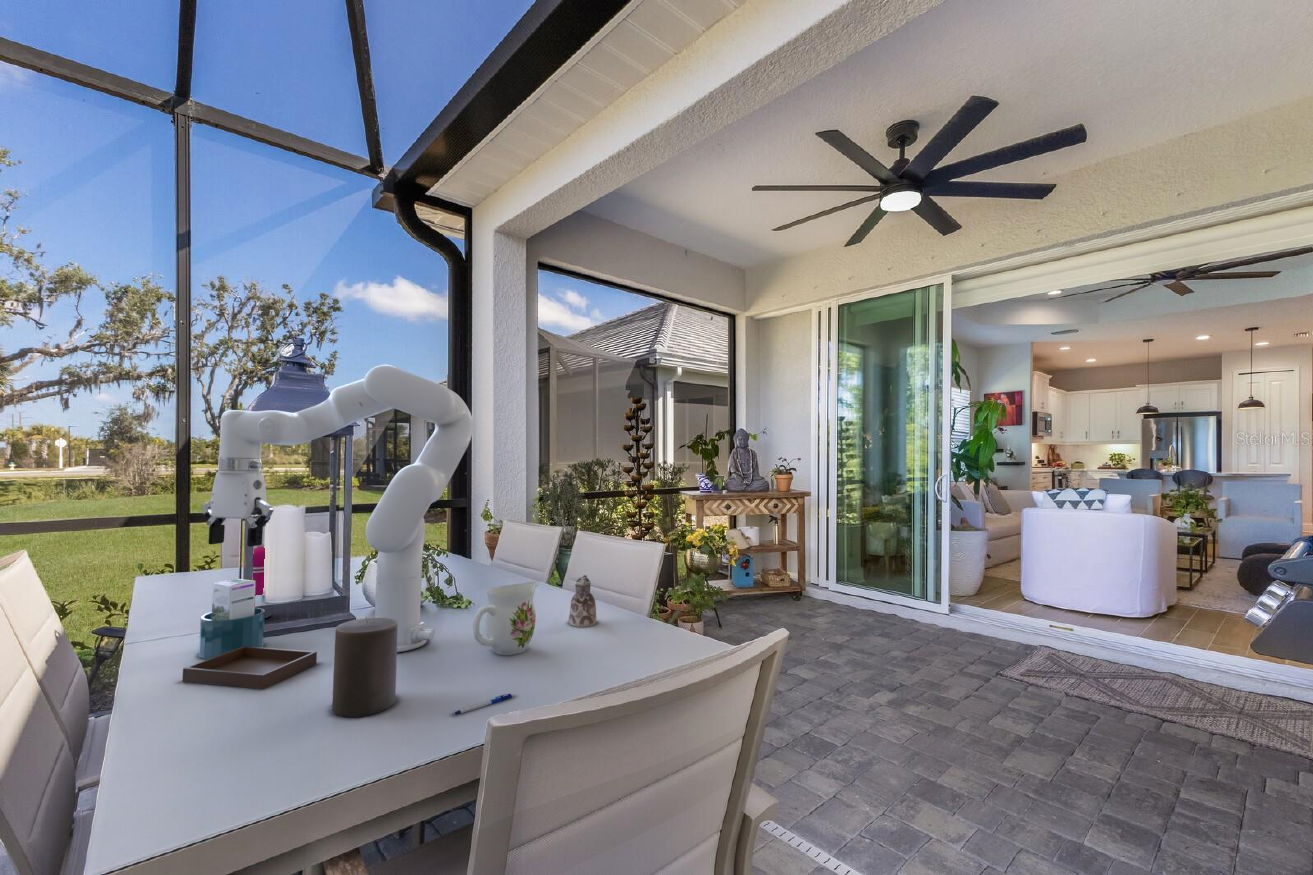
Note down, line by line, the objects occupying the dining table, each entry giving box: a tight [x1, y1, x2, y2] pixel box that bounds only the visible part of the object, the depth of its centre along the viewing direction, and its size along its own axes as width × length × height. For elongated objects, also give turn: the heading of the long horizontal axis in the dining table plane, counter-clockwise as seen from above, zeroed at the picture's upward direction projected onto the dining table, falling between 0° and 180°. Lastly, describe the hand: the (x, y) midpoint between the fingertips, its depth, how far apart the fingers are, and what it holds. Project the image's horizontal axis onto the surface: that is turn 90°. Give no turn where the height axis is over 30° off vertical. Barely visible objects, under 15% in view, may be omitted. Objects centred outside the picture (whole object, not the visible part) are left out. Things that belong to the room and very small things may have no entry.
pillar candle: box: [331, 616, 398, 718], centre depth 98 cm, size 10×10×15 cm
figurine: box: [568, 574, 597, 628], centre depth 150 cm, size 7×7×12 cm
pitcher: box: [472, 581, 540, 656], centre depth 127 cm, size 11×18×14 cm, turn 146°
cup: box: [198, 607, 266, 660], centre depth 125 cm, size 11×11×8 cm
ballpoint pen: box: [454, 693, 513, 715], centre depth 99 cm, size 10×1×1 cm, turn 136°
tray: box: [181, 646, 318, 690], centre depth 112 cm, size 17×13×2 cm
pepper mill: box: [253, 540, 265, 596], centre depth 150 cm, size 7×7×20 cm
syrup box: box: [211, 578, 255, 620], centre depth 125 cm, size 6×6×14 cm
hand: (235, 544), depth 125 cm, fingers open, 9 cm apart
